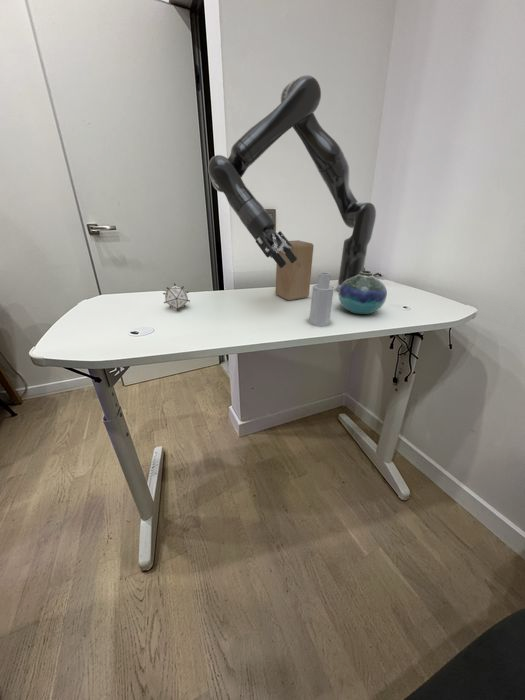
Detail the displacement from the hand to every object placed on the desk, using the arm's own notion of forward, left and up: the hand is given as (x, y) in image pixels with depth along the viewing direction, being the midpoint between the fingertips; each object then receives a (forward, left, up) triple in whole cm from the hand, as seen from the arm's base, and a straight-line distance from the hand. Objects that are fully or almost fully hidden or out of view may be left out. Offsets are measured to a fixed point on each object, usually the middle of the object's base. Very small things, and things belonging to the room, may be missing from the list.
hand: (289, 263), depth 86 cm
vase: (-25, +8, -17) cm, 31 cm away
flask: (-6, +9, -17) cm, 20 cm away
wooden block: (-15, -17, -17) cm, 28 cm away
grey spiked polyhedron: (+28, -24, -17) cm, 41 cm away
